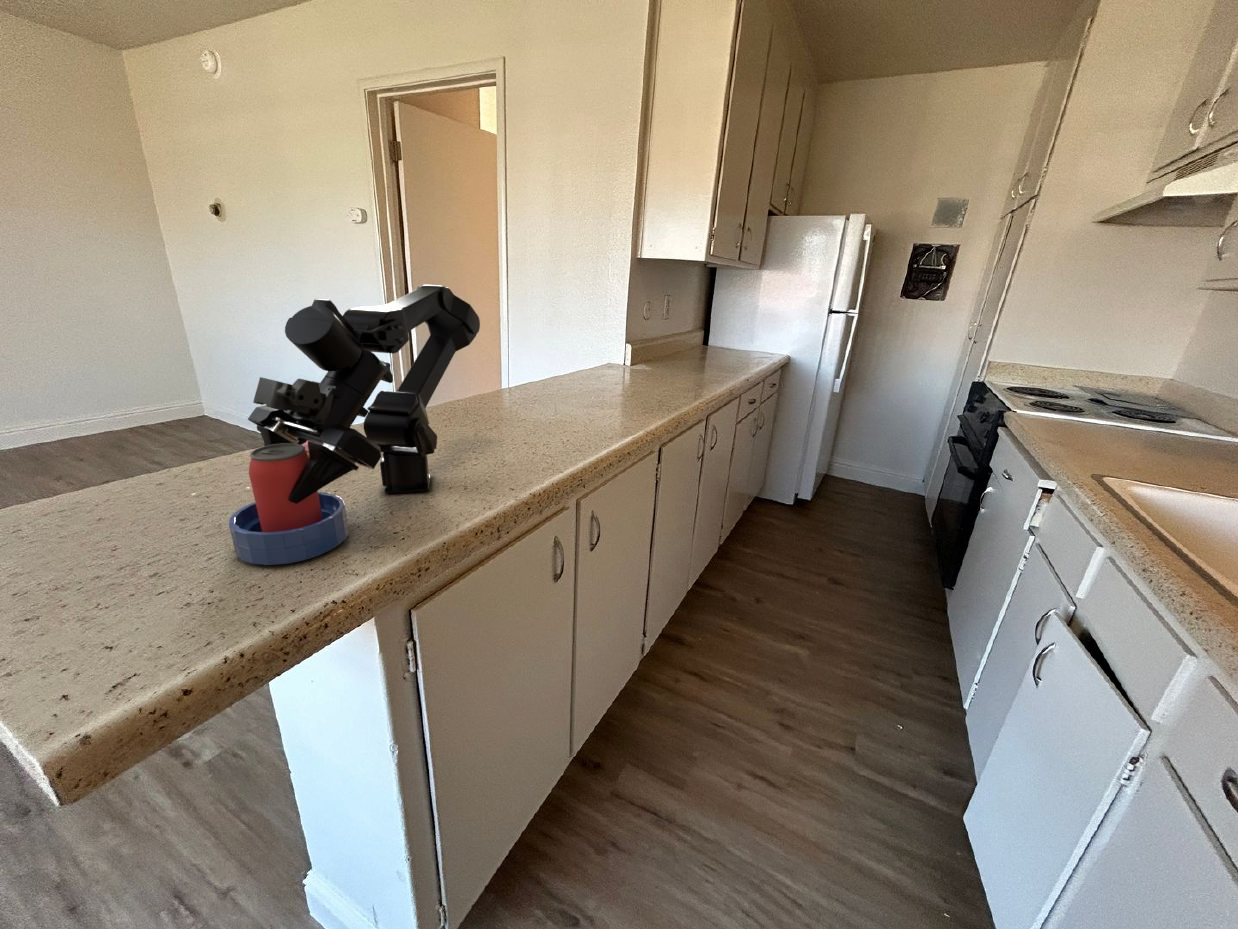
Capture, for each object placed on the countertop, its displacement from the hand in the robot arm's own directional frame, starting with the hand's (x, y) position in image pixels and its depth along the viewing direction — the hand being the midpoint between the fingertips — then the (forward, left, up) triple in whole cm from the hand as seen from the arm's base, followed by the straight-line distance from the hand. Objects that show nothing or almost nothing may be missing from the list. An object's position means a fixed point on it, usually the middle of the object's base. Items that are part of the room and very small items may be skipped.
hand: (274, 495), depth 62 cm
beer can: (-1, -1, -7) cm, 7 cm away
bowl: (-1, -1, -7) cm, 7 cm away
